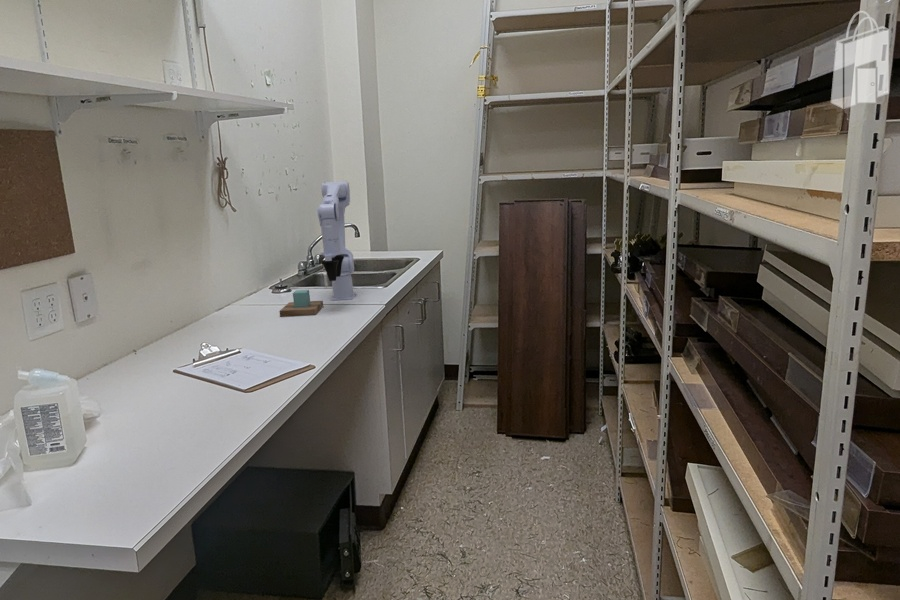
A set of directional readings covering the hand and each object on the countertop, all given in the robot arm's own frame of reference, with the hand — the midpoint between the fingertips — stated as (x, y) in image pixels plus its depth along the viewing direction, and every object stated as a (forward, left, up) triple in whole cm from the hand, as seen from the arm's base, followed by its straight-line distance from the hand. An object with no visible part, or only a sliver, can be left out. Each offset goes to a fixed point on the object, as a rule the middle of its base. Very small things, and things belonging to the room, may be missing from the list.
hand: (335, 278), depth 198 cm
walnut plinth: (+2, -12, -10) cm, 16 cm away
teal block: (+2, -12, -8) cm, 15 cm away
